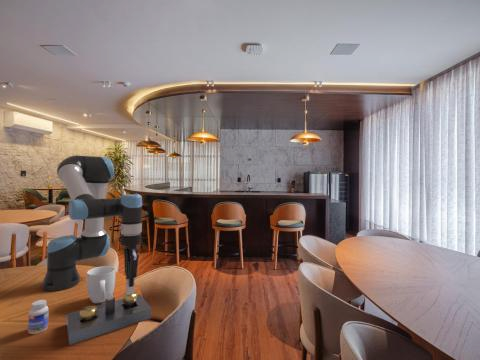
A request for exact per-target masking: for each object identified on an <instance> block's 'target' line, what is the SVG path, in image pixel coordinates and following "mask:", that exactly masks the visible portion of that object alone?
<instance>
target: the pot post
mask: <svg viewBox="0 0 480 360" xmlns="http://www.w3.org/2000/svg"><path fill="white" fill-rule="evenodd" d="M115 301H116V297H115V296H114V293H112V294H108V295H107V299H106V300H105V302H104V304H105V313H112V312H114V311H115Z"/></svg>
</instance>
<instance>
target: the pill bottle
mask: <svg viewBox="0 0 480 360" xmlns="http://www.w3.org/2000/svg"><path fill="white" fill-rule="evenodd" d="M48 327H49V307H48V305H47V300H46V299H39V300H36V301H33V302H32V303H31V309H30V310H29V311H28V328H27V329H28V330H27V331H28V332H27V333H28V334H31V335H36V334H40V333H42V332H45V331H46V330H47V329H48Z"/></svg>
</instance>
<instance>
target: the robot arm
mask: <svg viewBox="0 0 480 360" xmlns="http://www.w3.org/2000/svg"><path fill="white" fill-rule="evenodd" d="M56 175H58V176H57V177H58V179H59V180H60V181H62V182H63V183H64V186H65V189H66V191H67V193H68V197H69V198H70V201H69V202H68V206H67V207H68V209H67V212H68V216H69V219H71V220H73V221H75V220H80V221H81V220H82V221H83V220H85V221H84V230H83V231H82V232H81V233H80V237H77V235H74V234H72V235H64V236H63V235H62V236H59V237H56V238H53V239H51V240H50V241H49V242H47V243H48V244H47V248H46V249H47V250H46V258H47V259H46V260H47V261H46V273H45V275H44V277H43V280H42V283H41V289H42V290H43V291H45V292H58V291H63V290H67V289H70V288H73V287H74V286H76V285H77V286H78V284H79V283H80V281H81V280H80V277H81V276H80V274H79V272H78V269H77V262H78V261H83V260H90V259H95V258H99V257H103V256H106V254H107V253H108V252H109V250H110V245H111V241H110V240H111V238H110V237H111V236H110V235H109V234H108V233H107V231H106V230H105V229H104V225H105V223H104V222H105V218H113V217H120V226H119V228H118V229H119V230H120V234H121V235H120V245H121V246H123V247H124V248H123V256H124V257H123V258H124V259H123V260H124V273H125V276H126V277H125V280H126V282H125V283H126V284H125V285H126V286H125V293H126V295H130V294H134V291H135V286H136V285H135V282H136V281H135V279H136V278H137V275H138V263H139V259H140V258H139V257H140V255H139V254H138V248H137V246H138V245H140V244H141V243H142V232H143V231H142V230H143V221H142V218H143V215H142V214H143V197H142V195H141V194H135V193H131V194H129V193H128V194H126V193H125V194H123V195H121V196H119V197H118V196H117V197H113V198H112V197H110V198H106V189H107V185H109V184H110V180H113V179H114V177H115V168H114V164H113V162H112V160H111V159H110V158H109V157H105V156H104V157H103V156H91V155H79V154H77V155H72V156H69V157H66V158H64V159H63V160H61V162H60V163H59V164H58V166H57V169H56Z"/></svg>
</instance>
